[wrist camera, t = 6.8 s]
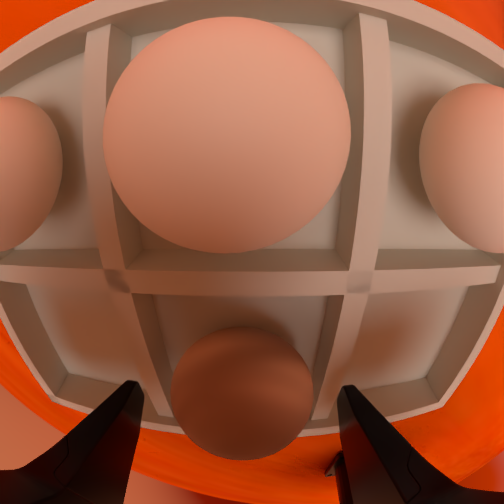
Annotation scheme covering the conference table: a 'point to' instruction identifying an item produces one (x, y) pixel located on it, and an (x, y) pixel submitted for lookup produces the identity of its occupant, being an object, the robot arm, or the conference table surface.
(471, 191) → the cream egg
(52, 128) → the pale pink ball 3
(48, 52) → the egg tray
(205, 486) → the conference table surface
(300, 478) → the conference table surface
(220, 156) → the cream egg
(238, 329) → the egg brown
